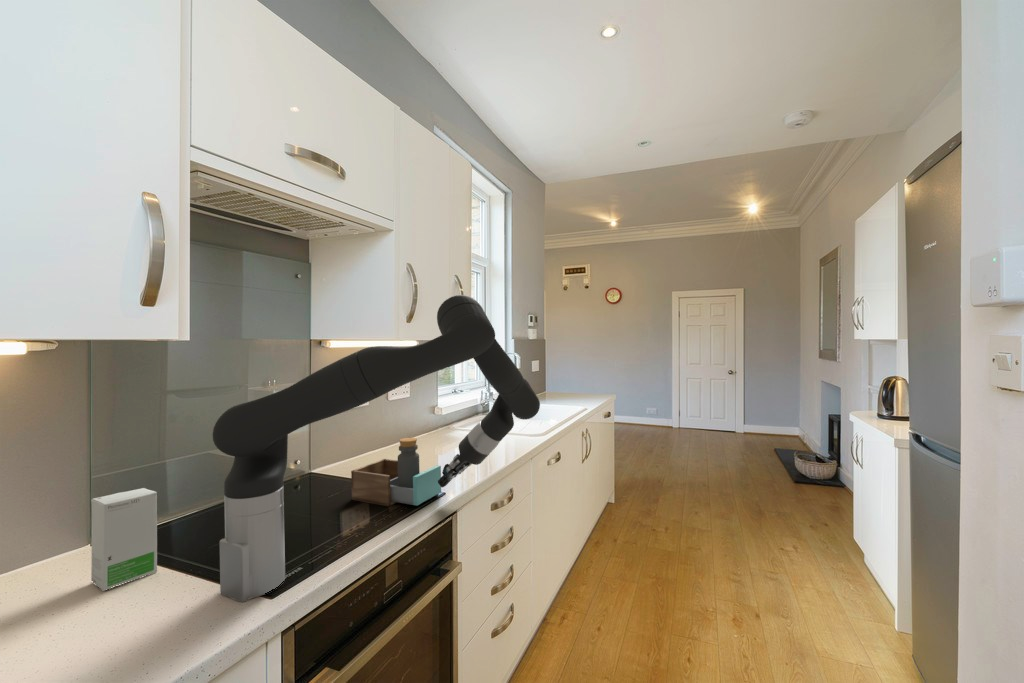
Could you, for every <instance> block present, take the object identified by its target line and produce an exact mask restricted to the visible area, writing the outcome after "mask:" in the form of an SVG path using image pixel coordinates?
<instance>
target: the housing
mask: <svg viewBox="0 0 1024 683" xmlns="http://www.w3.org/2000/svg"><path fill="white" fill-rule="evenodd" d="M350 471H351V472H350V473H351V474H350V475H351V476H350V478H351V500H352V501H357V502H363V503H368V504H373V505H380V506H383V507H384V506H385V507H390V506H392V505H394V504H397V502H394V501H391V494H390V480H392V479H394V478H396V477H398V459H389V458H388V459H387V458H382V459H379V460H378V461H375V462H373V463H369V464H366V465H364V466H362V467H359V468H356V469H353V470H350Z"/></svg>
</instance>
